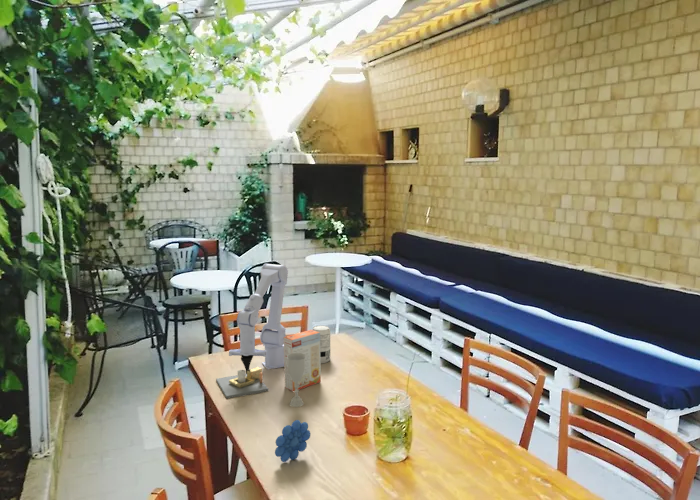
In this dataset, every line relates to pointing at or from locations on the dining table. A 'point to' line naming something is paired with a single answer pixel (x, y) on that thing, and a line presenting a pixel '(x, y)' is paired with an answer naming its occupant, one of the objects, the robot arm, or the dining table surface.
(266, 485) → the dining table surface
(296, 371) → the chalice
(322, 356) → the supplement can
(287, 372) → the cracker box
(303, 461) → the dining table surface
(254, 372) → the yellow frame with handle
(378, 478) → the dining table surface
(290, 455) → the grapes
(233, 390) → the post board
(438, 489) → the dining table surface
